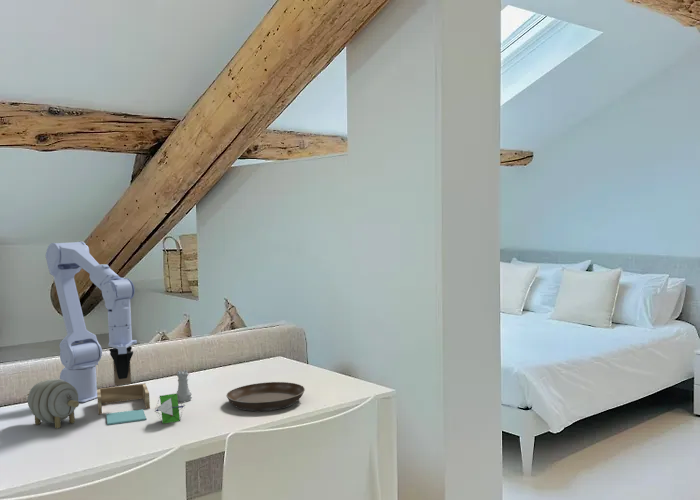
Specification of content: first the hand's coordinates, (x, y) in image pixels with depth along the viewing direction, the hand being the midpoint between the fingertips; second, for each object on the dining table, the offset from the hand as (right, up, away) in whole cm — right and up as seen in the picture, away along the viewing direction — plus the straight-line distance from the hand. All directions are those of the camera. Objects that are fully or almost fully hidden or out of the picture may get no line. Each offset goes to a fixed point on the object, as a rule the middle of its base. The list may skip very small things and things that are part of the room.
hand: (122, 376), depth 178 cm
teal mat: (+4, -9, -8) cm, 13 cm away
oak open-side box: (-1, -8, +2) cm, 9 cm away
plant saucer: (+38, -8, +2) cm, 38 cm away
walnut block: (0, -2, 0) cm, 2 cm away
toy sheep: (-12, -10, -12) cm, 20 cm away
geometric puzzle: (+16, -9, -12) cm, 22 cm away
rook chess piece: (+14, -8, +7) cm, 18 cm away
